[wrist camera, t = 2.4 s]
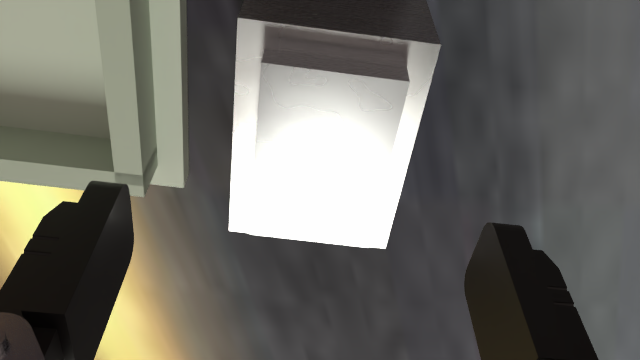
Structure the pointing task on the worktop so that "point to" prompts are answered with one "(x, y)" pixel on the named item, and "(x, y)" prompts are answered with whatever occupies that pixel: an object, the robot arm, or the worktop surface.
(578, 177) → the worktop surface
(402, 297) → the worktop surface
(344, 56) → the grey boxy piece
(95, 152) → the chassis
